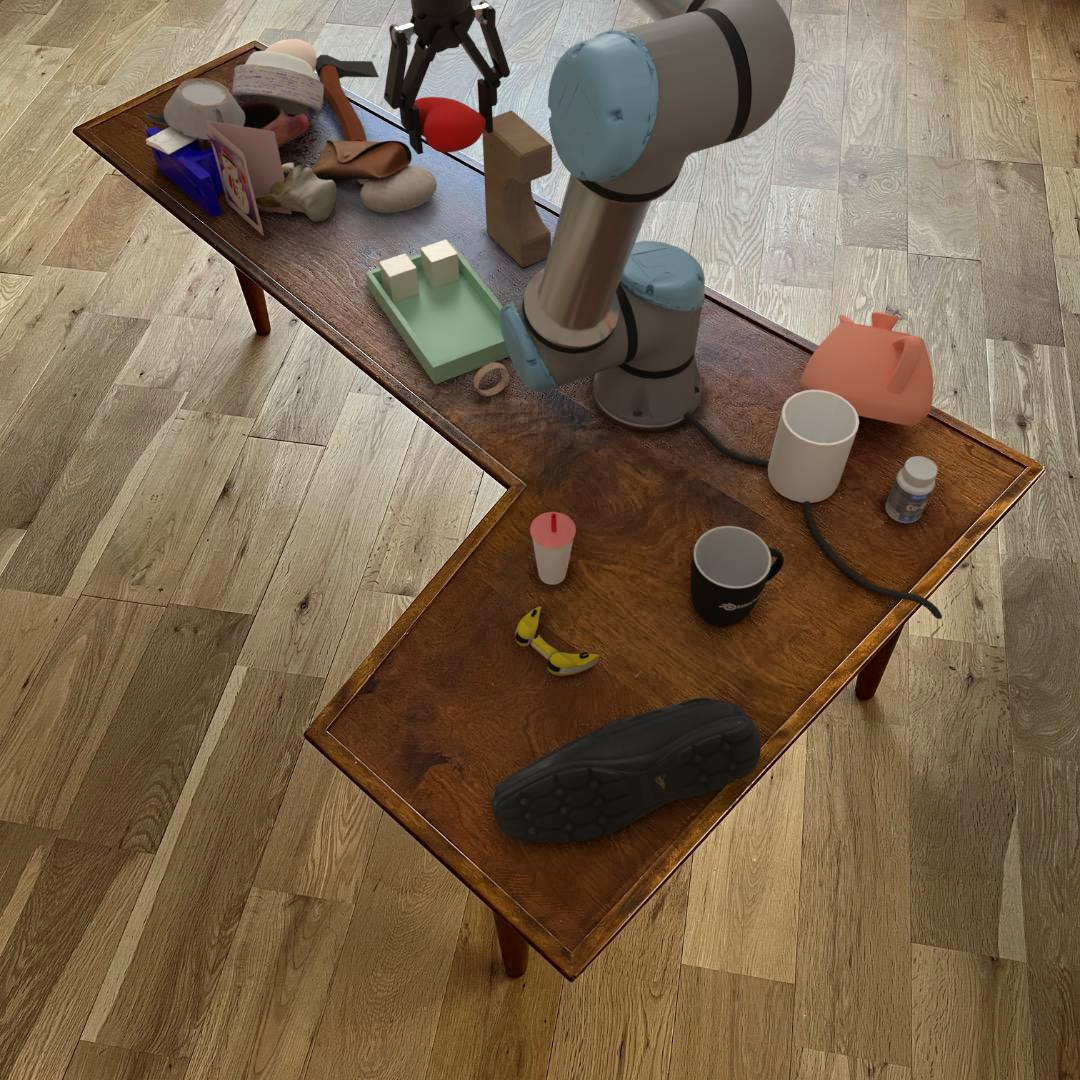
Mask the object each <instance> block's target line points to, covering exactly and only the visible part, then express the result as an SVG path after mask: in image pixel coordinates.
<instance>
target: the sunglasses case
mask: <svg viewBox="0 0 1080 1080" xmlns="http://www.w3.org/2000/svg"><path fill="white" fill-rule="evenodd" d="M325 142H326V145H324V148H323V150H322V151H321V153H320V154H319V156H318V158H317V160H316V162H315V163H314V165H313V167H312V168H311V169H312V172H313V173H314V174H315V175H316V177H317V178H327V179H347V180H358V179H377V178H385V177H388V176H390V175H393V174H395V173H397V172H398V171H400V170H402V169H403V168H405V167H406V166H410V165H411V162H412V159H413V155H412V151H411V148H410V147H409V146H408V145H407V143H405V142H402V141H400V140H383V141H372V140H369V141H368V140H367V141H346V140H345V141H344V140H343V141H342V140H341V141H338V140H333V139H326V141H325Z"/></svg>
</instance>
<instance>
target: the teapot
mask: <svg viewBox="0 0 1080 1080" xmlns="http://www.w3.org/2000/svg"><path fill="white" fill-rule="evenodd" d="M838 318H839V324H838V325H836V327H834V328H833V330H831V332H830V333H829V334H828V335H827V336H826V337H825V338H824V340H823V341H822V342H821V343H820V344H819V345H818V346H817V348H816V349H815V350H814V352H813V354H812V355H811V356H810V358H809V359H808V361H807V363H806V366H805V368H804V370H803V372H802V374H801V378H800V381H799V388H800V392H802V391H807V390H823V391H827V392H832V393H834V394H836V395H839V396H841V397H842V398H844V399H845V400H847V401H848V402H849V403H850V404H851V405H852V406H853V407H854V408H855V410H856V412H857V414H858V417H863V418H869V419H873V420H878V421H882V422H888V423H892V424H898V425H902V426H908V427H915V426H916V425H918V424H919V423H921V421H923V420H924V419H925V418H926V417H927V416H928V415H929V414H930V412H931V410H932V405H933V399H934V375H933V370H932V364H931V361H930V357H929V353H928V348H927V345H926V342H925V340H924V339H923V337H920V336H919V335H913V334H910V333H905V332H899V331H896V330H893V329H894V328H895V326H896V325H897V323H898V321H899V319H900V317H898V316H897V315H894V314H891V313H886V312H879V311H874V312H871V324H872V325H865V324H861V323H854V320H852V318H850V317H848V316H846V315H844V314H839V316H838Z"/></svg>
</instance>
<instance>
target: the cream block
mask: <svg viewBox="0 0 1080 1080" xmlns="http://www.w3.org/2000/svg"><path fill="white" fill-rule="evenodd" d="M450 243H451V242H449V241H448V240H447V239H442V240H440V241H437V242H434V243H432V244H431V243H430V244H427V245H424V246H422V247H420V248H419V250H420V251H419V252H420V253H421V261H422V270H423V275H424V276H425V278H426V279H427V280H428V282H429V283H430V284H431V286H432V287H433V288H434V289H435V288H438V287H441V286H444V285H447V284H450V283H452V282H455V281H458V280H460V278H459V264H458V253H457V252H456V251H455V250H454V248H453V247H452V246H451V245H450Z"/></svg>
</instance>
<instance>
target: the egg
mask: <svg viewBox="0 0 1080 1080" xmlns="http://www.w3.org/2000/svg"><path fill="white" fill-rule="evenodd" d="M264 51H273V52H279V53H284V54H288V55H291V56H294V57H297V58H300V59H302V60H304V61H306V62H307V63H309V64H310V65H311V67H312V69H313V72H314V73H315V71H316V69H315V68H316V62H317V60H316V59H317V54H316V51H315V49H314V47H313V46H312V45H311V44H310V43H308V42H307V41H304V40H302V39H300V38H287V39H281V40H279V41H276V42H274V43H272V44H271V45H269V46H268V47H267V48H266V49H265V50H264Z"/></svg>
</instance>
